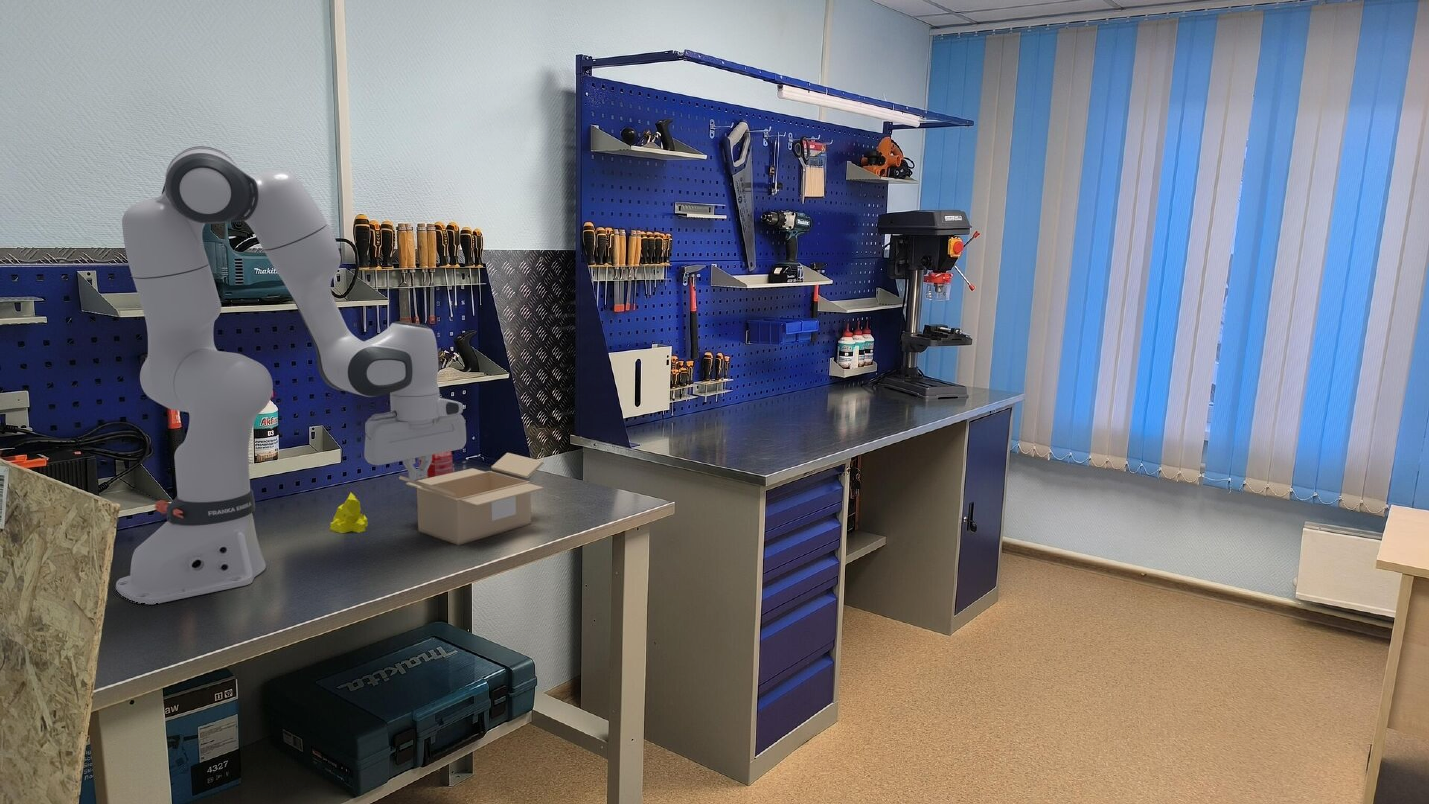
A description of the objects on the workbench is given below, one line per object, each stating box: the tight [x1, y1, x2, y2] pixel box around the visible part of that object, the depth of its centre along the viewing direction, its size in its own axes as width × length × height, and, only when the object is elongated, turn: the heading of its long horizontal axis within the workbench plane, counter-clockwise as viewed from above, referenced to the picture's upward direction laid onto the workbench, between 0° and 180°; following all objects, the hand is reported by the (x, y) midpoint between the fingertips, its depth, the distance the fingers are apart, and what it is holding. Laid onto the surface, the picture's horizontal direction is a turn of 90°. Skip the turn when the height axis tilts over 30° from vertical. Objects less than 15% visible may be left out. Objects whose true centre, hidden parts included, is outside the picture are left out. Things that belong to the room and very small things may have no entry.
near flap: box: [398, 475, 456, 496], centre depth 180 cm, size 5×11×1 cm, turn 52°
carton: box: [405, 467, 544, 546], centre depth 190 cm, size 18×23×9 cm
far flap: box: [491, 452, 545, 479], centre depth 197 cm, size 5×11×1 cm, turn 52°
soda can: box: [417, 451, 454, 480], centre depth 205 cm, size 7×7×13 cm
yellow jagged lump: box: [329, 492, 369, 534], centre depth 188 cm, size 6×8×8 cm
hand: (418, 479), depth 178 cm, fingers closed
